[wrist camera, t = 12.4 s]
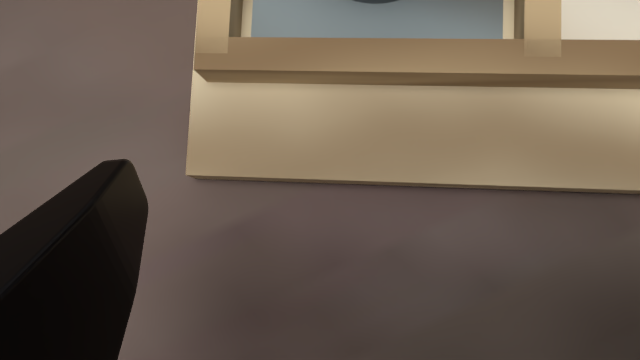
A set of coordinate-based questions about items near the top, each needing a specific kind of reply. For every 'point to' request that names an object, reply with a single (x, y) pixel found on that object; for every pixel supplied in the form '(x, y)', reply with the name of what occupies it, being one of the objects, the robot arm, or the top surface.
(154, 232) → the top surface
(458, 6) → the bay board
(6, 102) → the top surface
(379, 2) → the sleeve
